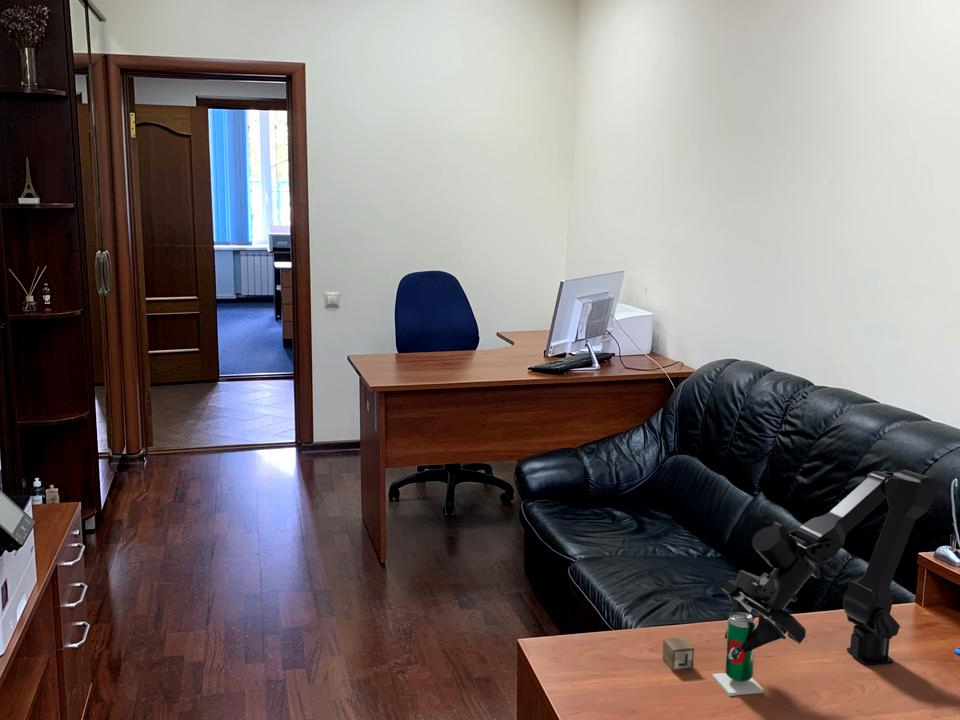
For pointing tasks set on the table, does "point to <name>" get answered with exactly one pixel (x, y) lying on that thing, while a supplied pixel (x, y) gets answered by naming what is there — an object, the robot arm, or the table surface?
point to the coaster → (737, 685)
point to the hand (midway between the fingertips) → (734, 644)
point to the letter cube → (678, 653)
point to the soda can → (739, 647)
